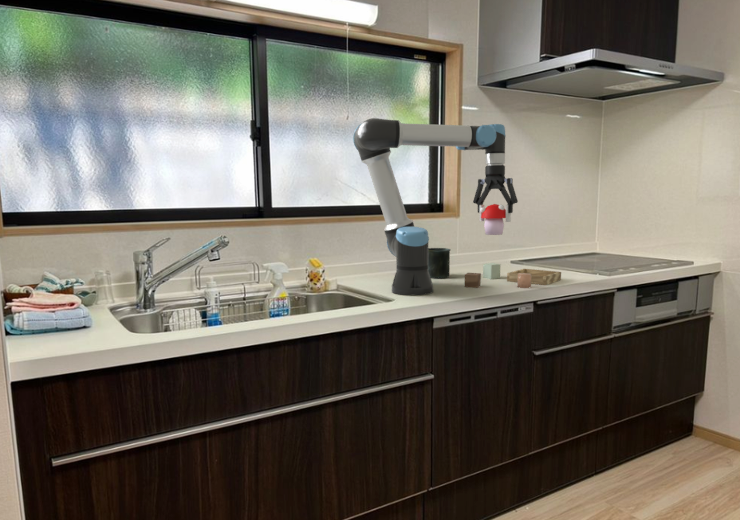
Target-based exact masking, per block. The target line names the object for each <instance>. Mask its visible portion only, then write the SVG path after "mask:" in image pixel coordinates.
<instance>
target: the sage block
mask: <svg viewBox="0 0 740 520" xmlns="http://www.w3.org/2000/svg"><path fill="white" fill-rule="evenodd" d="M482 264H483V265H482V266H483V267H482V278H483V279H487V280H497V279H501V263H495V262H488V263H482Z"/></svg>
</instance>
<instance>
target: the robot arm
mask: <svg viewBox="0 0 740 520" xmlns="http://www.w3.org/2000/svg"><path fill="white" fill-rule="evenodd" d="M506 138H507V137H506V127H505V125H504V124H503V123H494V124H493V123H492V124H482V125H462V124H461V125H457V124H455V125H454V124H431V123H430V124H428V123H403V122H402V123H401V120H397V119H385V118H377V117H375V118H374V117H372V118H368V119H366V120H364V121H362V123H360V124H359V125H357V127H356V128H355V129H354V132H353V137H352V140H353V146H354V147H355V149H356V150H357V153H358V155H359V159H360V160H361V163H363V164H365V165H366V167H367V169H368V172H369V175H370V178H371V182H372V184H373V188H374V190H375V191H374V192H375V194H376V197H377V200H378V202H379V206H380V209H381V211H382V216H383V219H384V221H385V226H384V229H383V230H384V234H385V237H386V245H387V249H388V251H389V252H390V253H391V254H392V256H393V257H394V256H395V257H396V264H395V265H396V272H395V273H394V278H393V280H392V283H391V293H394V294H396V295H397V294H398V295H403V296H421V295H428V294H432V293H433V292H434V286H433V282H432V278H430V275H429V272H428V248H429V242H430V241H429V240H430V237H429V232H428V229H426V228H424V227H420V226H415V223H414V221H413V220H412V219H410V218H409V217H408V215H407V212H406V208H405V206H404V205H405V204H404V202H403V200H402V199H403V198H402V196H401V192H400V189H399V187H398V183H397V180H396V177H395V174H394V171H393V167H392V165H391V161H390V159H389V157H390V155H391V154H392V151H391V149H398V148H399V147H400V146H414V147H415V146H416V147H417V146H419V147H423V146H424V147H455V148H456V150H457V151H460V150H461V151H477V150H479V151H481V150H482V151H485V152H484V154H485V157H484V159H485V160H484V161H485V162H484V164H485V165H486V166H485V169H484V171H485V172H484V174H485V178H478V179H477V186H476V191H475V194H474V197H473V202H472V204H476V205H477V213H478V214H479V215H478V216H479V217H478V218H479V219H478V220H479V222H485V218H481V215H482V213H481V212H480V209H481V208H482V207H484V208H485V204H484V202H485V200H486V199H487V196H488V195H489V193H490V192H491V190H498V191H500V193H501V195H502V198H504V200H505V201H506V203H507V204H505V210H506V218H505V223H509V222H510V223H511V220H512V217H511V215H512V214H513V211H514V209H513V207H514V205H515V204H517V203H518V198H517V194H516V191H515V188H514V184H513V178H512V177H508V178H506V177H505V176H506V175H505V174H506V166H505V165H504V164H506ZM505 184H506V186H507V188H506V186H505ZM484 185H485V187H484ZM483 189H484V190H483ZM506 189H507V190H508V191H507V190H506Z"/></svg>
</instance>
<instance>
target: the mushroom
mask: <svg viewBox="0 0 740 520" xmlns="http://www.w3.org/2000/svg"><path fill="white" fill-rule="evenodd" d="M480 212H481V213H482V215H481V218H484V223H483V226H484V234H485V235H487V236H500V235H503V233H504V229H505V228H504V227H505V224H504V219H506V208H505V206H504V204H497V203H493V204H489V205H487V206H484V207H482V208H481V209H480Z"/></svg>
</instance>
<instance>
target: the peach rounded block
mask: <svg viewBox="0 0 740 520" xmlns="http://www.w3.org/2000/svg"><path fill="white" fill-rule="evenodd" d="M516 283H517V288H519V287H520V289H530V288H529V287H531V288H532V284H531V274H529V273H518V282H516Z"/></svg>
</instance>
